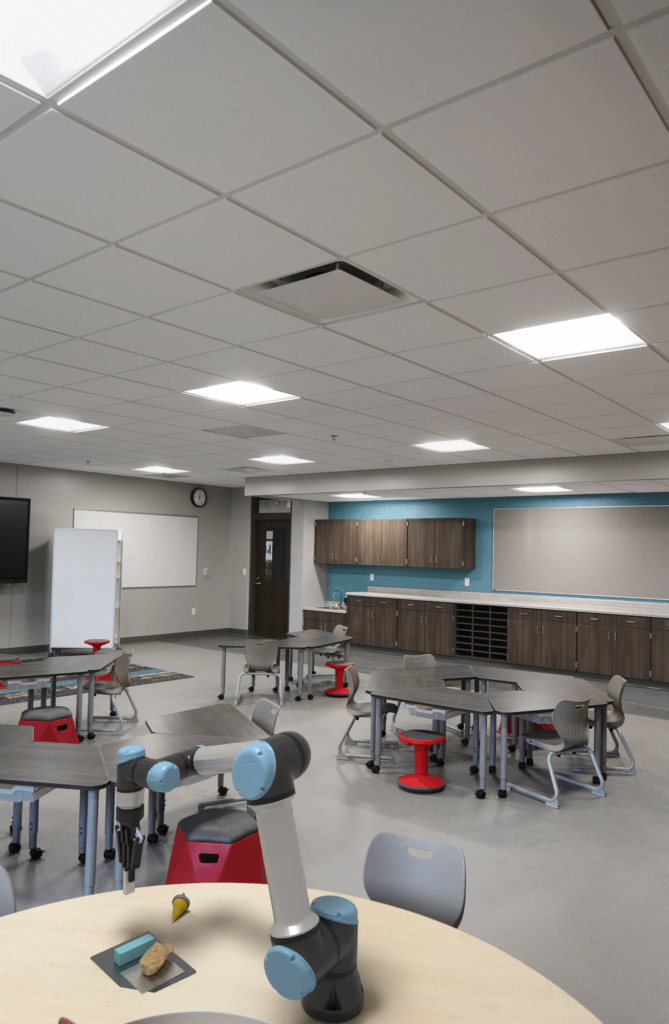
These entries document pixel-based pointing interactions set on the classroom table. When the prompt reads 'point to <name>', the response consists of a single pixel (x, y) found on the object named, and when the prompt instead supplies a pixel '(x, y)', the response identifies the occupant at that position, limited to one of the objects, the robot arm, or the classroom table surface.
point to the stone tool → (155, 957)
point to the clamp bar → (133, 949)
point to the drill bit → (179, 905)
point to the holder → (134, 975)
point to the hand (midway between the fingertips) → (128, 892)
